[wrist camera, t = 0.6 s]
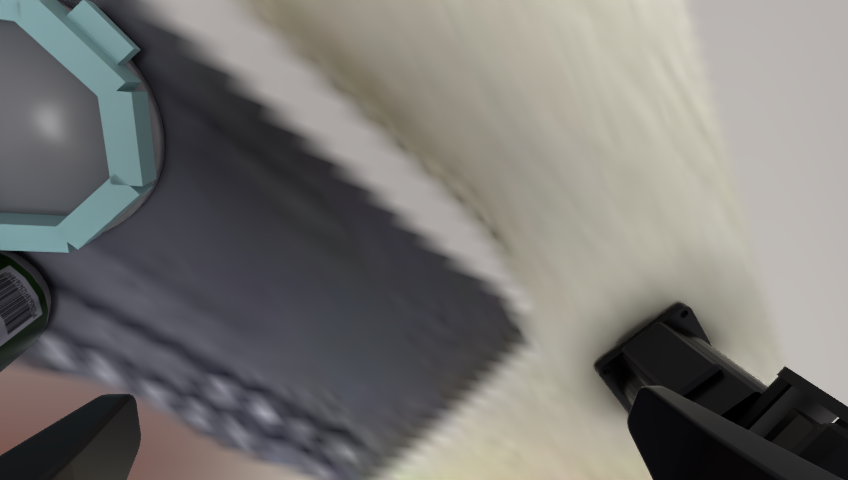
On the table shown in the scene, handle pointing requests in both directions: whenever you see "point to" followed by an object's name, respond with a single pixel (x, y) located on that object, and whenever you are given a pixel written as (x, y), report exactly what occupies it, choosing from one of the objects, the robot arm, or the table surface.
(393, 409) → the table surface
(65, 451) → the robot arm
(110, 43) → the teal ring frame
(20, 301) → the beer can
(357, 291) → the table surface
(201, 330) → the table surface
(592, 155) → the table surface
